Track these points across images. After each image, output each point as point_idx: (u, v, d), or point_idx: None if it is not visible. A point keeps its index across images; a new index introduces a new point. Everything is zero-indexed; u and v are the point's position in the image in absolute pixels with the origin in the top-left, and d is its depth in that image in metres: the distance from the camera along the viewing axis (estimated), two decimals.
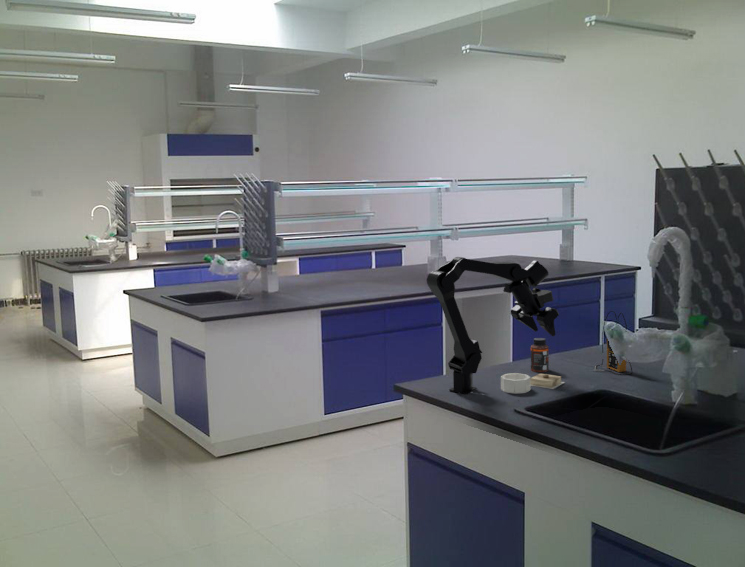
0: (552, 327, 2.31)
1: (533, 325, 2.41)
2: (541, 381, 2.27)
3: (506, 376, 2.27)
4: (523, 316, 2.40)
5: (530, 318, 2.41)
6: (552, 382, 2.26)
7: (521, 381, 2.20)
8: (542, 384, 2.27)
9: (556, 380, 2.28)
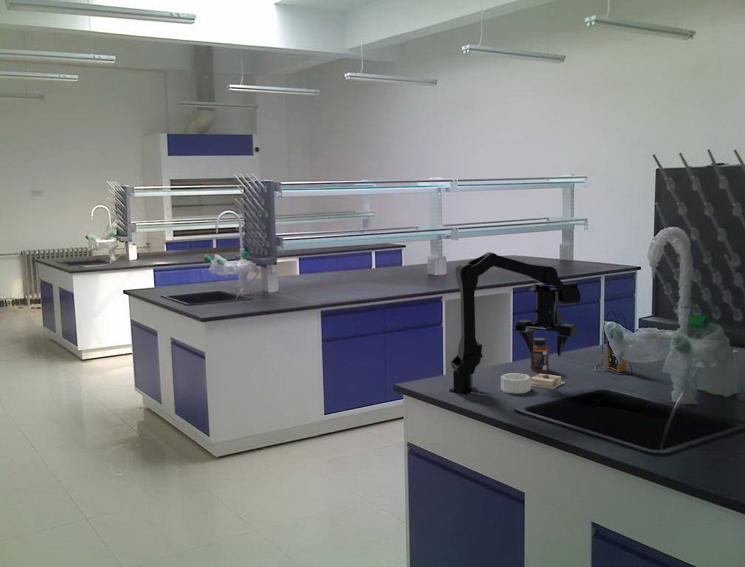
0: (563, 345, 2.26)
1: (532, 345, 2.32)
2: (541, 381, 2.27)
3: (506, 376, 2.27)
4: (528, 331, 2.31)
5: (531, 337, 2.32)
6: (552, 382, 2.26)
7: (521, 381, 2.20)
8: (542, 384, 2.27)
9: (556, 380, 2.28)
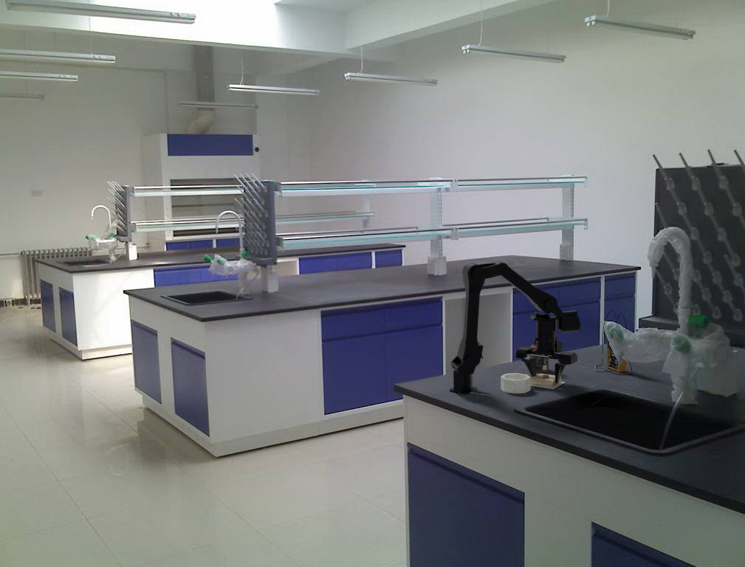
0: (560, 373, 2.27)
1: (534, 373, 2.32)
2: (541, 381, 2.27)
3: (506, 376, 2.27)
4: (530, 359, 2.31)
5: (534, 364, 2.33)
6: (552, 382, 2.26)
7: (521, 381, 2.20)
8: (542, 384, 2.27)
9: None
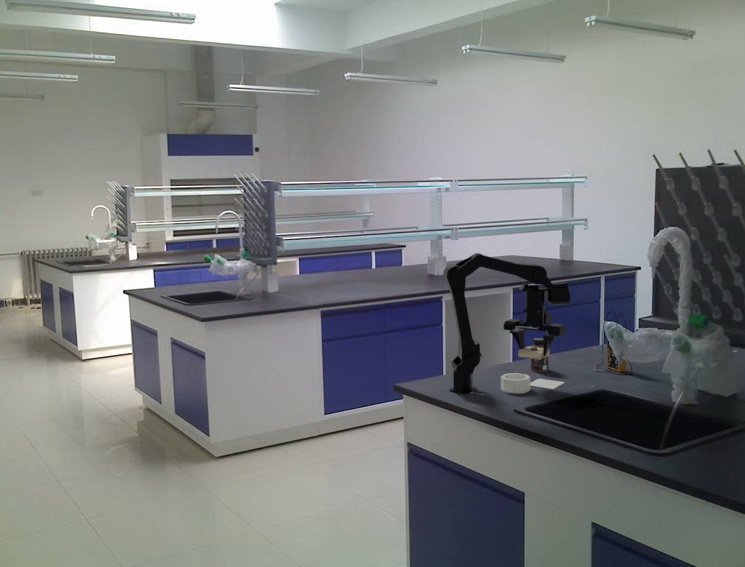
0: (549, 345, 2.24)
1: (522, 345, 2.29)
2: (529, 353, 2.24)
3: (506, 376, 2.27)
4: (519, 331, 2.28)
5: (522, 337, 2.29)
6: (540, 354, 2.23)
7: (521, 381, 2.20)
8: (530, 356, 2.24)
9: None
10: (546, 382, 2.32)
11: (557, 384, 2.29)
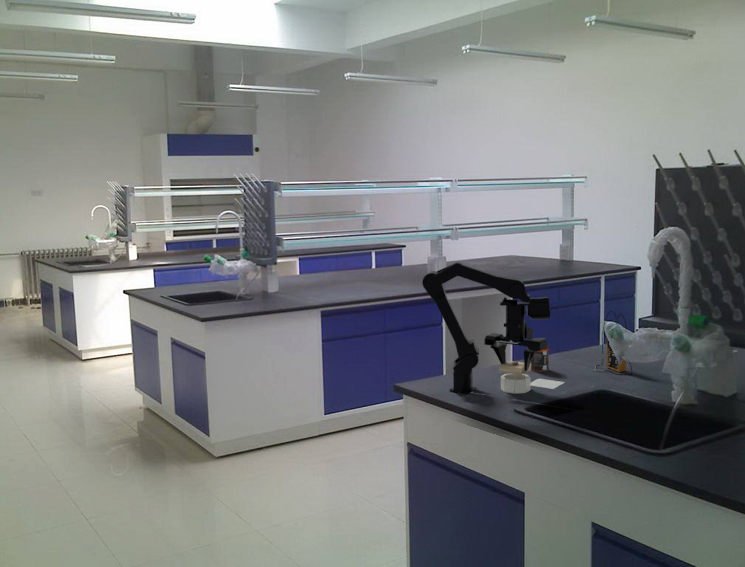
0: (530, 360, 2.21)
1: (504, 360, 2.26)
2: (510, 368, 2.21)
3: (506, 376, 2.27)
4: (500, 346, 2.25)
5: (503, 351, 2.26)
6: (521, 369, 2.19)
7: (521, 381, 2.20)
8: (511, 371, 2.21)
9: None
10: (546, 382, 2.32)
11: (557, 384, 2.29)
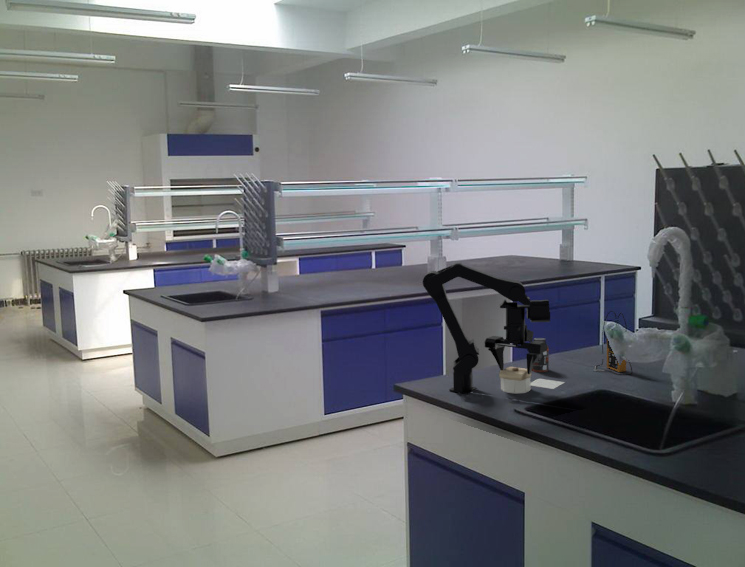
0: (533, 363, 2.20)
1: (502, 362, 2.27)
2: (510, 374, 2.21)
3: None
4: (497, 348, 2.26)
5: (501, 354, 2.27)
6: (521, 375, 2.20)
7: (521, 381, 2.20)
8: (511, 377, 2.21)
9: (526, 373, 2.22)
10: (546, 382, 2.32)
11: (557, 384, 2.29)
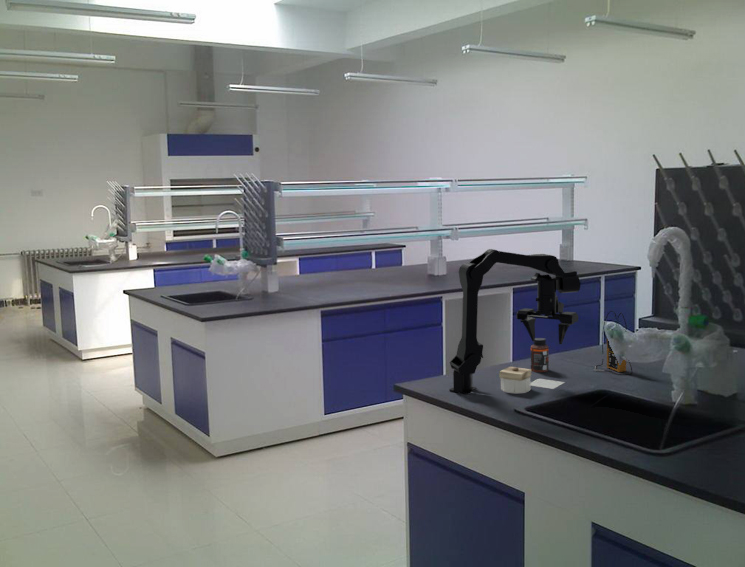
0: (564, 333, 2.28)
1: (533, 333, 2.34)
2: (510, 374, 2.21)
3: None
4: (529, 320, 2.33)
5: (533, 325, 2.34)
6: (521, 375, 2.20)
7: (521, 381, 2.20)
8: (511, 377, 2.21)
9: (526, 373, 2.22)
10: (546, 382, 2.32)
11: (557, 384, 2.29)
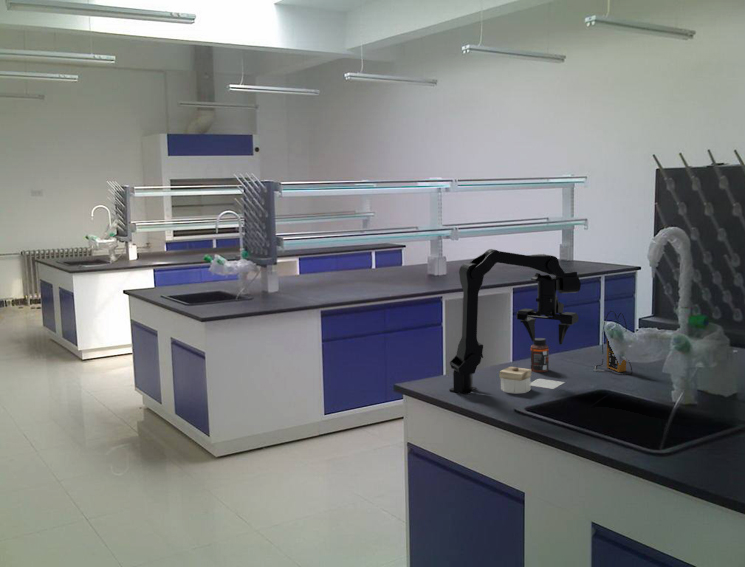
0: (564, 334, 2.28)
1: (533, 334, 2.34)
2: (510, 374, 2.21)
3: None
4: (529, 320, 2.33)
5: (533, 326, 2.34)
6: (521, 375, 2.20)
7: (521, 381, 2.20)
8: (511, 377, 2.21)
9: (526, 373, 2.22)
10: (546, 382, 2.32)
11: (557, 384, 2.29)
